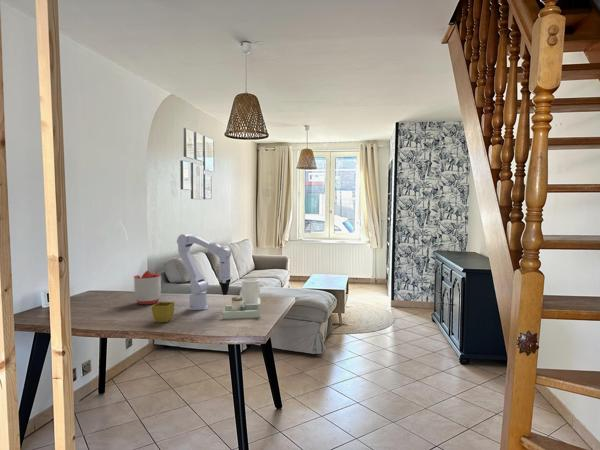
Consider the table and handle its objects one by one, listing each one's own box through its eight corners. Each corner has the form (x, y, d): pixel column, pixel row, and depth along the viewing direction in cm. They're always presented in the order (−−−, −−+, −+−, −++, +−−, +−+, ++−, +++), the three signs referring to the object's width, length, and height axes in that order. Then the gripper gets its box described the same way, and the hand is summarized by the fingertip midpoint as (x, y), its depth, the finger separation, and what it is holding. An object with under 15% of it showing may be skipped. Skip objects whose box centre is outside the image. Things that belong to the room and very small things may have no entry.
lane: (222, 318, 206) (222, 305, 206) (225, 311, 221) (225, 299, 221) (260, 317, 208) (260, 304, 208) (260, 310, 223) (260, 297, 223)
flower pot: (151, 323, 200) (150, 305, 200) (159, 318, 209) (159, 301, 208) (167, 323, 199) (167, 306, 198) (175, 319, 208) (175, 302, 207)
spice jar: (231, 316, 211) (231, 299, 211) (232, 313, 217) (232, 296, 217) (242, 315, 212) (242, 298, 211) (243, 312, 218) (242, 296, 217)
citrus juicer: (154, 298, 257) (153, 267, 256) (165, 302, 245) (165, 270, 244) (129, 302, 247) (128, 270, 246) (140, 307, 234) (139, 273, 233)
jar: (261, 302, 241) (261, 278, 240) (258, 307, 230) (257, 281, 230) (244, 302, 242) (244, 278, 241) (240, 306, 231) (239, 281, 231)
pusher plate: (242, 316, 209) (241, 307, 209) (243, 311, 220) (242, 302, 220) (245, 316, 209) (244, 307, 209) (245, 311, 220) (245, 302, 220)
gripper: (231, 271, 217) (231, 295, 217) (233, 267, 231) (233, 290, 232) (218, 271, 216) (218, 296, 217) (220, 267, 231) (221, 291, 231)
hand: (225, 293), depth 224 cm, fingers open, 7 cm apart
